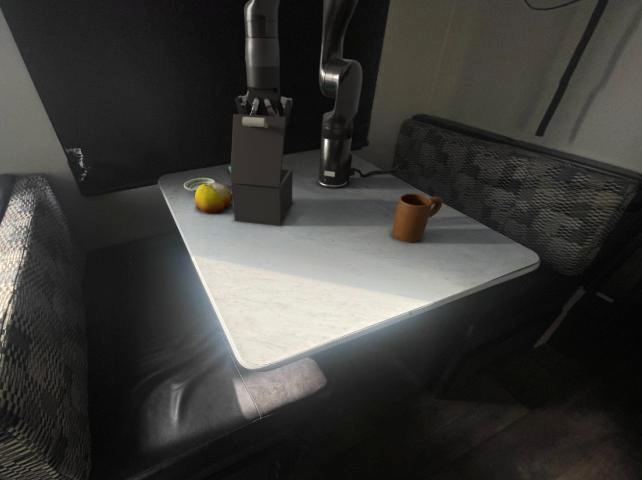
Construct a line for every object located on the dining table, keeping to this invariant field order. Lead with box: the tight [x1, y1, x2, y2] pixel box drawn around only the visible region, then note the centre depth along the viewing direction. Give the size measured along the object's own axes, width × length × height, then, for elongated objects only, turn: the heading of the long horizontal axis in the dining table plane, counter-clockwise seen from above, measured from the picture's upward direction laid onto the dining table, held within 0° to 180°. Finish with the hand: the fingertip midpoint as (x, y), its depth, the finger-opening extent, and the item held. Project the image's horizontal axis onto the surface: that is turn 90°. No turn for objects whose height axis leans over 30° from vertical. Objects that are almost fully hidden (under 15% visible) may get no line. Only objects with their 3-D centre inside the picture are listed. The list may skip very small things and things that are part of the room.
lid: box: [229, 113, 287, 188], centre depth 77 cm, size 15×13×5 cm
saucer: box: [183, 177, 216, 194], centre depth 104 cm, size 10×10×2 cm
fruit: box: [194, 182, 233, 215], centre depth 94 cm, size 11×10×8 cm
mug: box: [391, 193, 443, 243], centre depth 81 cm, size 12×8×9 cm, turn 112°
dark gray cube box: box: [230, 167, 293, 227], centre depth 90 cm, size 15×13×10 cm
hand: (265, 143), depth 85 cm, fingers closed on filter, 5 cm apart
